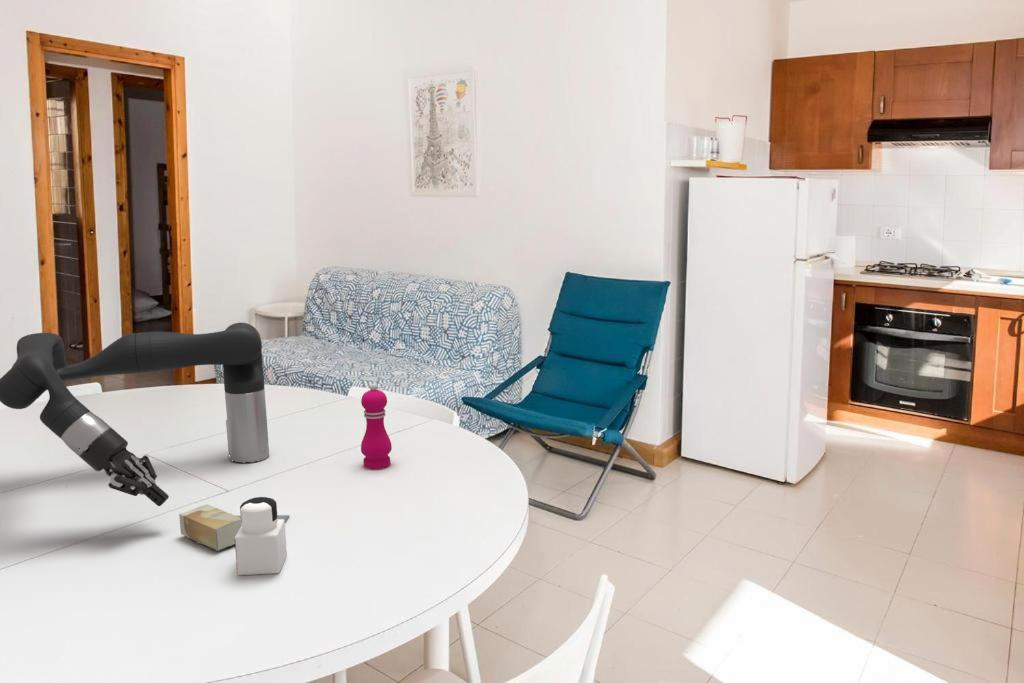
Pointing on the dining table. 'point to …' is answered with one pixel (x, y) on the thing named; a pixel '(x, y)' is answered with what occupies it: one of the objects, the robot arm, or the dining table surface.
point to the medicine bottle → (260, 538)
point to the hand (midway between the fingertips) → (164, 501)
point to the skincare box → (210, 526)
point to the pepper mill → (375, 430)
